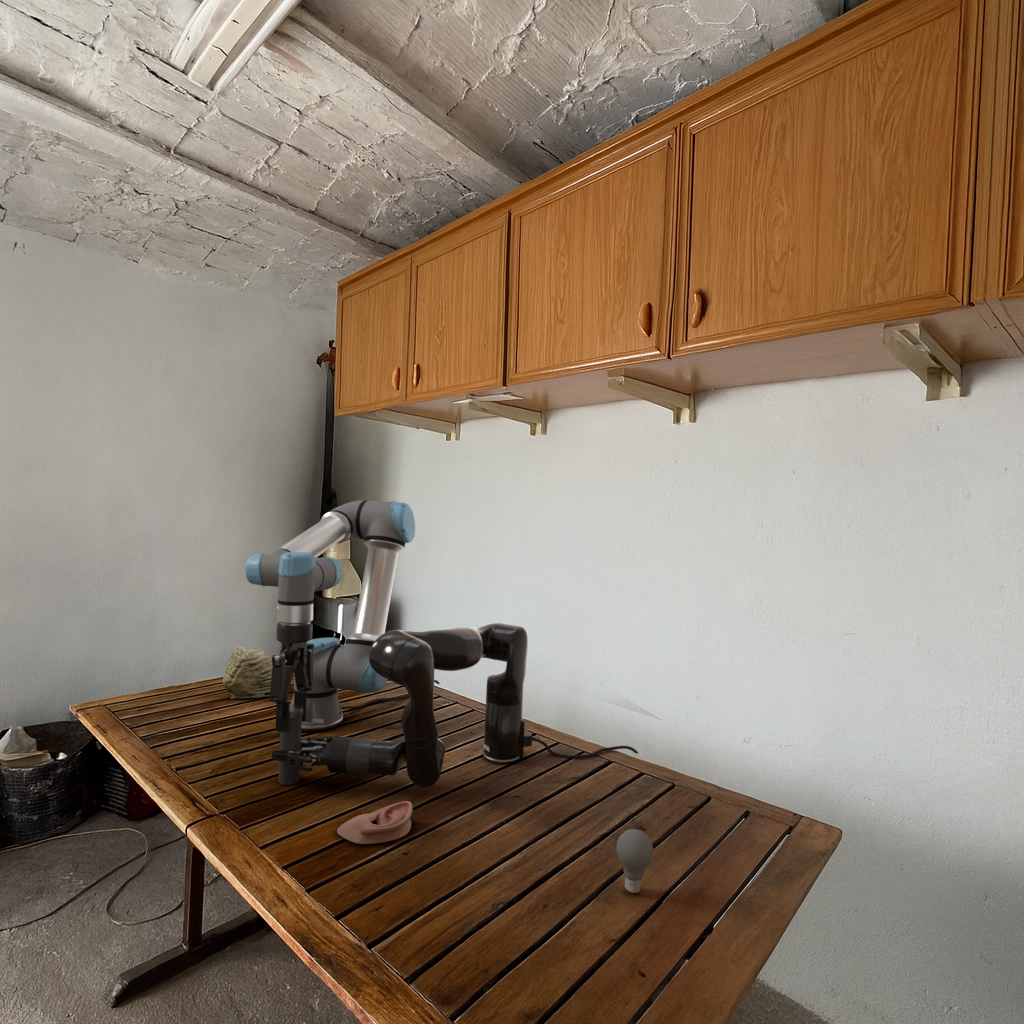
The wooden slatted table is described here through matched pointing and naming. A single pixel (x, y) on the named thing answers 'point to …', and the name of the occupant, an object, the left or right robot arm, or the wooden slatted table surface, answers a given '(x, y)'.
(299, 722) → the dark grey cylinder
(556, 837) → the wooden slatted table surface
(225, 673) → the fossil
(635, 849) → the light bulb
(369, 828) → the anatomical model
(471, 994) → the wooden slatted table surface
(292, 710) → the lid
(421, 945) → the wooden slatted table surface
